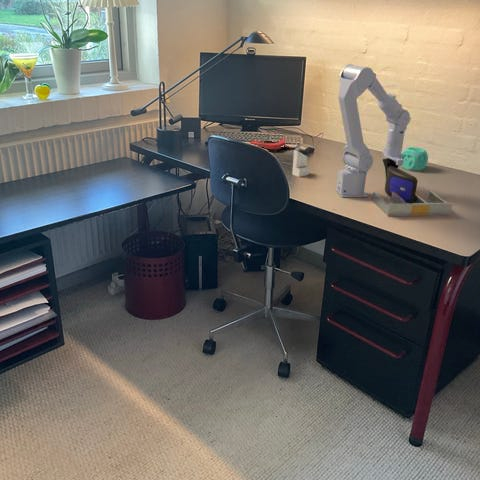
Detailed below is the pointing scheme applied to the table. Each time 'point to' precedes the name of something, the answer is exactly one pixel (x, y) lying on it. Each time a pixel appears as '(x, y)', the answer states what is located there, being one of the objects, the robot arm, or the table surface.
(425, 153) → the decorative dice
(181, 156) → the table surface
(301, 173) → the white wedge bracket
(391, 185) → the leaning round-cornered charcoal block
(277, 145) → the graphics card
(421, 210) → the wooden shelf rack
